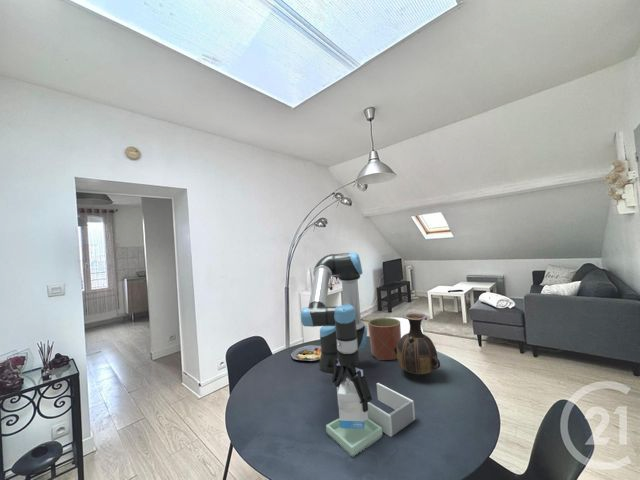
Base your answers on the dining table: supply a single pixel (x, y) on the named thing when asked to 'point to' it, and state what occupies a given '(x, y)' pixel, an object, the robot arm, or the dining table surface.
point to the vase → (416, 348)
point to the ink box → (349, 406)
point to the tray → (354, 436)
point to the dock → (395, 419)
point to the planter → (384, 337)
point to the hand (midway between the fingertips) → (352, 411)
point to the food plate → (307, 353)
